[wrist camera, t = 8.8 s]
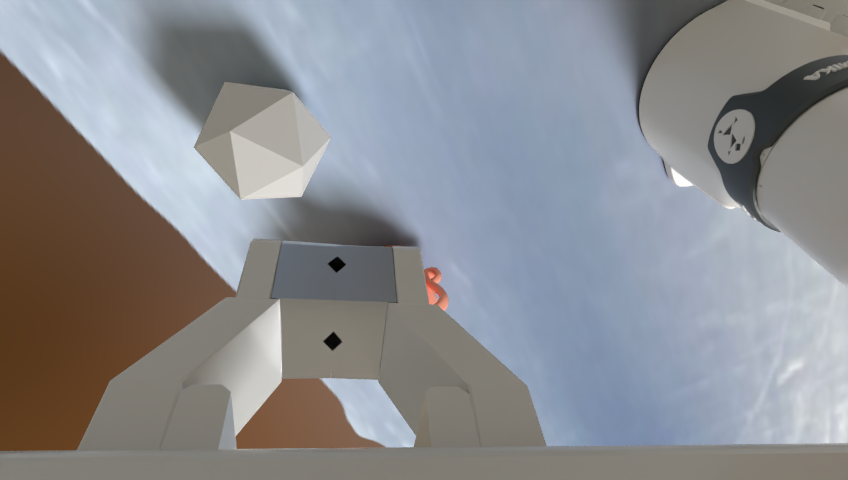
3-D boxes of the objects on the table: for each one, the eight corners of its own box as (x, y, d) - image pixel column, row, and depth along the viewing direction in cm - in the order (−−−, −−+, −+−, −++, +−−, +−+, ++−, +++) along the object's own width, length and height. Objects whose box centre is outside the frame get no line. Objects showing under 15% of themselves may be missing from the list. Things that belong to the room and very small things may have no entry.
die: (208, 56, 41) (152, 167, 37) (302, 43, 37) (250, 165, 33) (274, 125, 48) (233, 224, 44) (360, 120, 44) (322, 229, 40)
